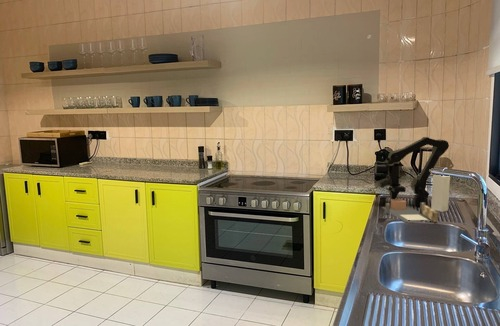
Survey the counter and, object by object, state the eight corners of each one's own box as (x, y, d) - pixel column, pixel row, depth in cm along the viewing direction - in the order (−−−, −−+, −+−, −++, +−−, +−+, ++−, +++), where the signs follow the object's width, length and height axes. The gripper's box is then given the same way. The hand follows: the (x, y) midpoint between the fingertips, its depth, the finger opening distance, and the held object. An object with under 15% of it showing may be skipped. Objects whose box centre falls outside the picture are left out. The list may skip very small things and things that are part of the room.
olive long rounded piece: (423, 213, 207) (424, 202, 206) (425, 214, 205) (426, 203, 204) (384, 214, 206) (385, 202, 205) (386, 215, 203) (386, 203, 203)
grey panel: (409, 207, 221) (409, 206, 221) (437, 221, 191) (437, 221, 191) (380, 207, 220) (380, 206, 220) (405, 222, 190) (405, 221, 190)
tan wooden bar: (421, 213, 204) (421, 204, 204) (425, 213, 204) (426, 204, 203) (433, 221, 189) (433, 212, 188) (437, 221, 189) (438, 212, 188)
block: (401, 207, 219) (401, 199, 219) (406, 209, 213) (406, 201, 213) (390, 207, 219) (390, 199, 218) (395, 209, 213) (395, 201, 212)
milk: (448, 210, 212) (451, 170, 209) (440, 212, 209) (443, 170, 206) (437, 208, 218) (440, 168, 215) (430, 209, 215) (433, 169, 212)
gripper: (373, 171, 230) (372, 198, 232) (386, 176, 212) (385, 205, 214) (392, 171, 231) (391, 197, 233) (406, 176, 212) (405, 205, 214)
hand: (392, 201), depth 223 cm, fingers closed
